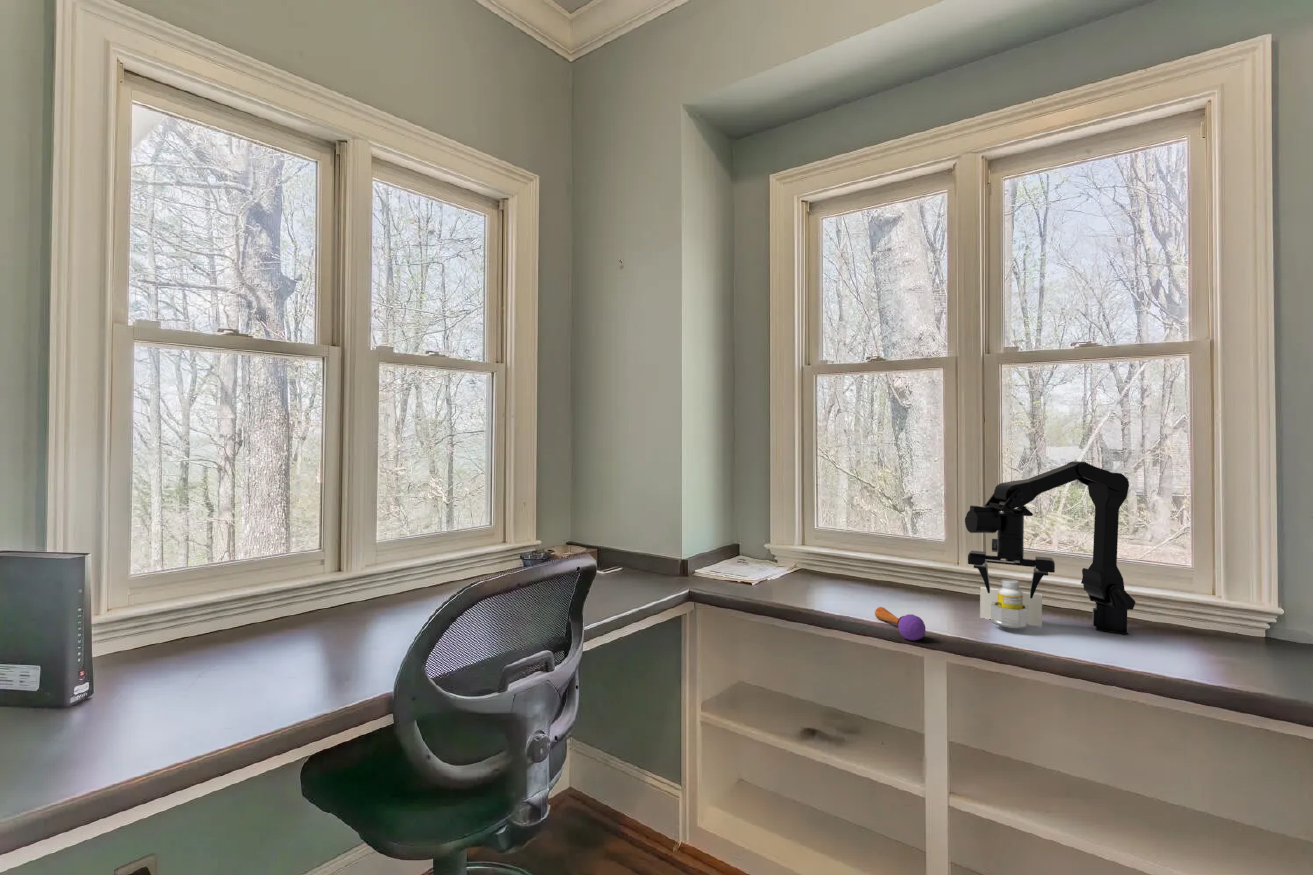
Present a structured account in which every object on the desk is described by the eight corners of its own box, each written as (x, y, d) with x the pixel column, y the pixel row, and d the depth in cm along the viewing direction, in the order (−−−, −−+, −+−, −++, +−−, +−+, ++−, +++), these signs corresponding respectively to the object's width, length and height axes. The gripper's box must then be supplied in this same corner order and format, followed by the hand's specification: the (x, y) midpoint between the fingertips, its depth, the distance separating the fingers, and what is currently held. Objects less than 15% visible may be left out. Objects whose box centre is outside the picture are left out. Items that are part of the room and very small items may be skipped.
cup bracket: (1028, 619, 160) (1028, 601, 160) (1029, 630, 150) (1029, 611, 150) (992, 614, 164) (992, 597, 164) (990, 624, 154) (990, 606, 154)
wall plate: (1041, 624, 160) (1041, 593, 160) (1041, 626, 158) (1042, 595, 158) (980, 616, 167) (980, 586, 167) (980, 618, 166) (980, 588, 166)
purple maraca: (893, 604, 164) (932, 619, 145) (889, 626, 164) (928, 645, 144) (871, 599, 164) (907, 614, 144) (868, 622, 164) (903, 640, 144)
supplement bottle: (998, 615, 159) (999, 577, 160) (1023, 618, 156) (1023, 579, 157) (996, 620, 155) (997, 580, 155) (1022, 623, 152) (1022, 583, 152)
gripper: (1053, 532, 158) (1052, 594, 158) (971, 526, 168) (970, 584, 167) (1055, 538, 148) (1054, 603, 148) (968, 531, 158) (967, 592, 158)
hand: (1009, 595), depth 156 cm, fingers open, 9 cm apart
